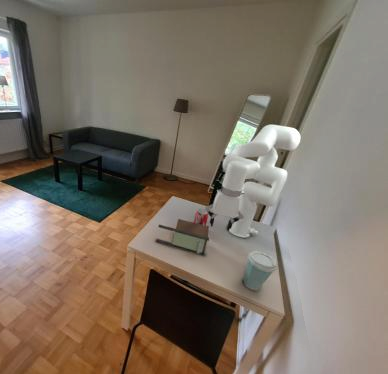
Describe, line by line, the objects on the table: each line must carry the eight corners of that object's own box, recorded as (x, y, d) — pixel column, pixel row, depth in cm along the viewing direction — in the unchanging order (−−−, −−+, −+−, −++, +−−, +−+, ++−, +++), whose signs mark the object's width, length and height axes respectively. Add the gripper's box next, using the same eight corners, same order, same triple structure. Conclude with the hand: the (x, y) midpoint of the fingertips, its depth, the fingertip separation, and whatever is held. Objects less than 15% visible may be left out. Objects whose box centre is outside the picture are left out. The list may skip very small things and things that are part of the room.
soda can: (205, 233, 123) (209, 215, 118) (192, 230, 124) (197, 213, 119) (204, 226, 129) (208, 209, 124) (192, 224, 130) (196, 207, 125)
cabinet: (205, 241, 116) (209, 226, 111) (204, 255, 106) (209, 239, 101) (160, 229, 122) (163, 214, 118) (155, 241, 112) (158, 226, 108)
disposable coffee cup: (233, 277, 94) (243, 251, 88) (250, 271, 99) (260, 246, 92) (253, 298, 86) (266, 270, 79) (271, 290, 90) (284, 263, 84)
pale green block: (201, 251, 107) (205, 238, 103) (201, 256, 103) (205, 243, 100) (172, 243, 110) (175, 230, 107) (171, 248, 107) (173, 234, 104)
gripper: (251, 192, 88) (239, 227, 96) (209, 183, 93) (200, 217, 100) (254, 199, 82) (241, 237, 90) (208, 190, 86) (199, 226, 94)
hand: (219, 226), depth 95 cm, fingers open, 6 cm apart
